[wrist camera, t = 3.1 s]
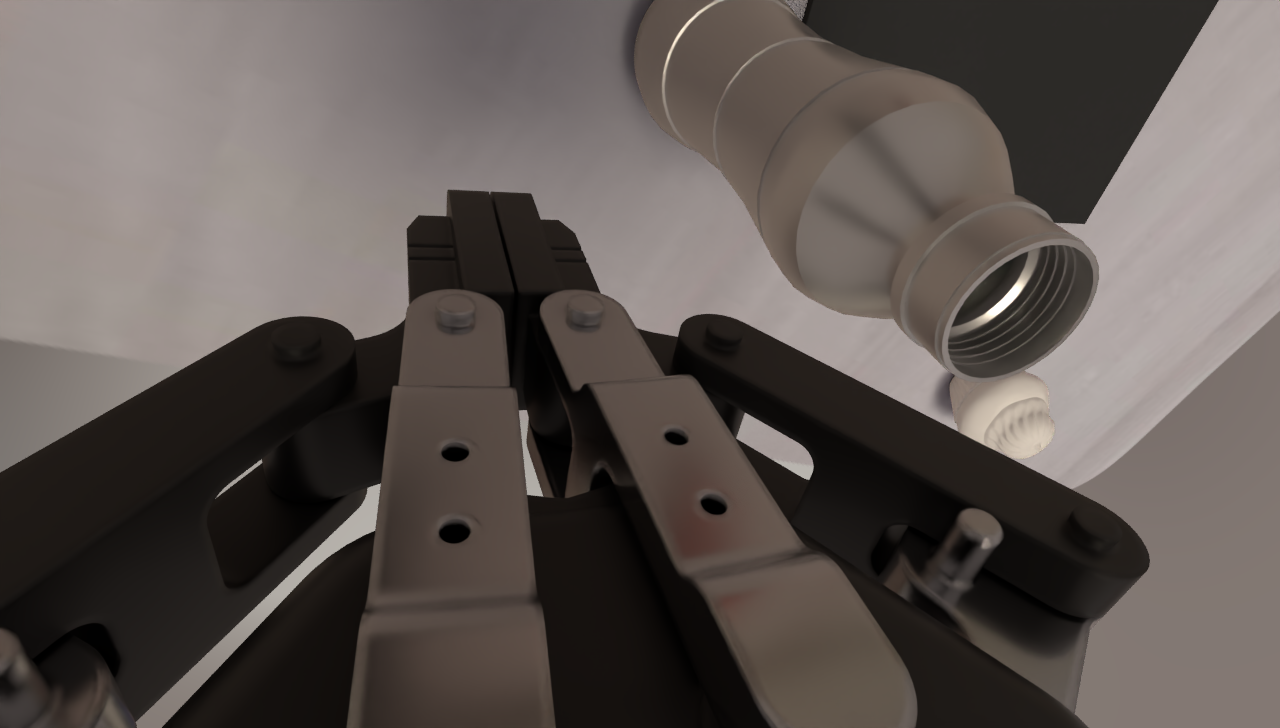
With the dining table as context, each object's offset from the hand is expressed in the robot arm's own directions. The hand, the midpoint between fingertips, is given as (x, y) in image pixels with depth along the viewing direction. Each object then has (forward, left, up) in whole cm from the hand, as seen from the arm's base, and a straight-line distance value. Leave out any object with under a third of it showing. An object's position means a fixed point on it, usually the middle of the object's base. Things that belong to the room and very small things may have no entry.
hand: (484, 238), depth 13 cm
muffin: (+19, +35, -17) cm, 44 cm away
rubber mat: (0, +26, -17) cm, 31 cm away
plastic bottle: (0, +10, -17) cm, 20 cm away
